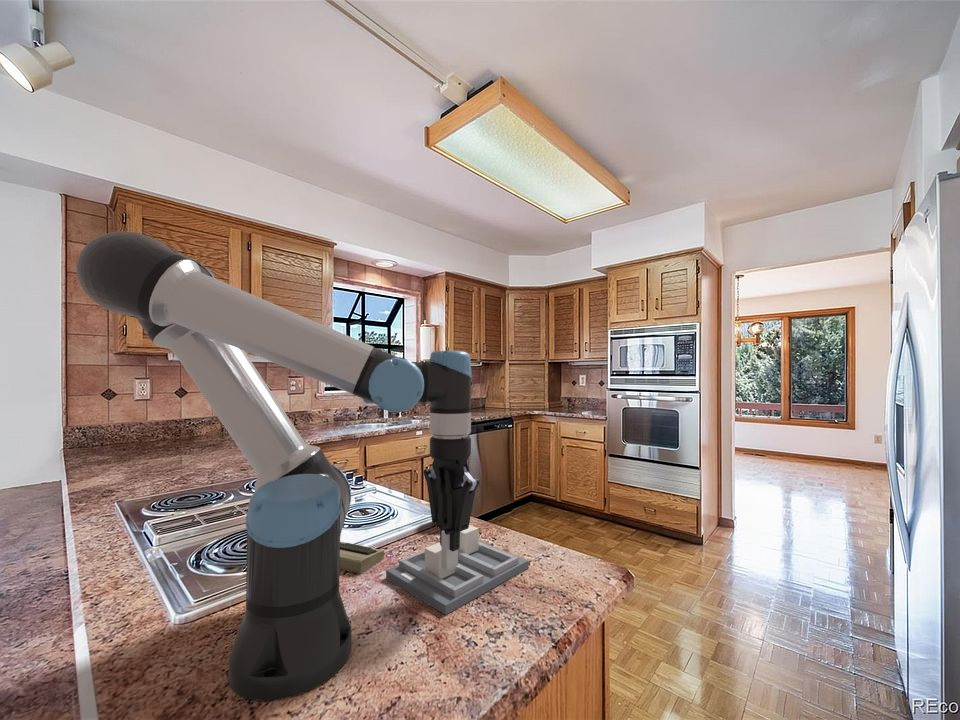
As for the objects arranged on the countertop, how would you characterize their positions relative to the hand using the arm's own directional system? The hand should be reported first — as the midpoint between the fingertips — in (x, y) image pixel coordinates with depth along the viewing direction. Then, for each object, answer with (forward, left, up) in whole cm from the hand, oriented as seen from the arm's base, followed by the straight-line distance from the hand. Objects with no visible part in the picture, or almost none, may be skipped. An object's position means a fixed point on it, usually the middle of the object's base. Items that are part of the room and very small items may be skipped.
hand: (449, 566), depth 74 cm
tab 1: (0, +3, -2) cm, 3 cm away
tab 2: (+10, +6, -2) cm, 12 cm away
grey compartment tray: (+5, +3, -4) cm, 7 cm away
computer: (-8, +25, -5) cm, 26 cm away
